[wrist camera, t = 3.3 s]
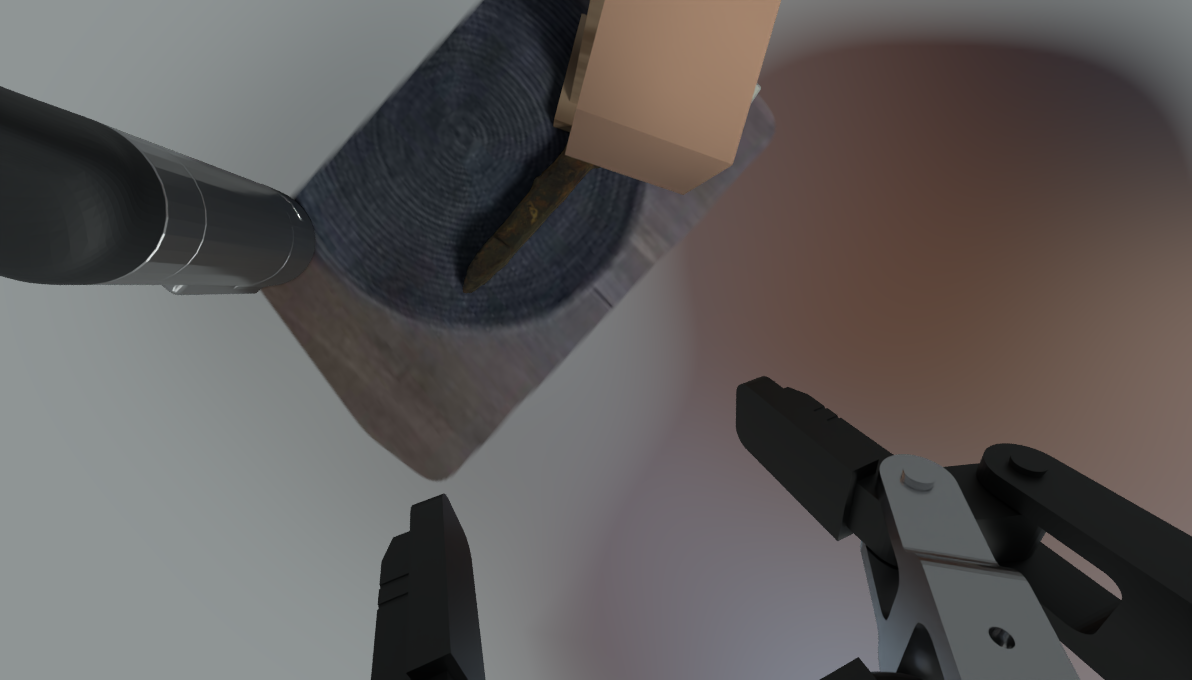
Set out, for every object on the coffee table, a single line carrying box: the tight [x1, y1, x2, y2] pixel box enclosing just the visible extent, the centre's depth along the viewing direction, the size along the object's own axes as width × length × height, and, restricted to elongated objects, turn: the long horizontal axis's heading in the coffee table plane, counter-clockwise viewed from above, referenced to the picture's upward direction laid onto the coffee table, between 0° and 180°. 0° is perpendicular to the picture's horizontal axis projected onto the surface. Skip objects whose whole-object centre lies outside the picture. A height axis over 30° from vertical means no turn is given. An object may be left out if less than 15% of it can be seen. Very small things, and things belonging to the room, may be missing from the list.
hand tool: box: [463, 135, 600, 293], centre depth 42 cm, size 19×4×5 cm, turn 137°
